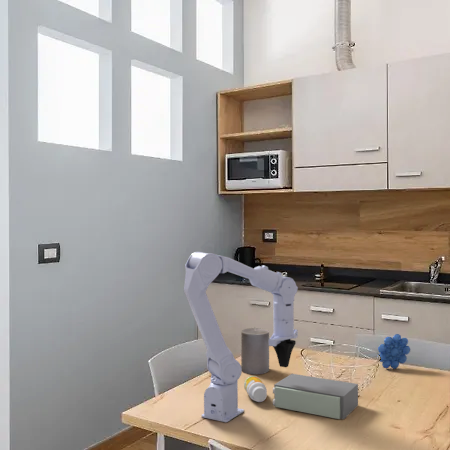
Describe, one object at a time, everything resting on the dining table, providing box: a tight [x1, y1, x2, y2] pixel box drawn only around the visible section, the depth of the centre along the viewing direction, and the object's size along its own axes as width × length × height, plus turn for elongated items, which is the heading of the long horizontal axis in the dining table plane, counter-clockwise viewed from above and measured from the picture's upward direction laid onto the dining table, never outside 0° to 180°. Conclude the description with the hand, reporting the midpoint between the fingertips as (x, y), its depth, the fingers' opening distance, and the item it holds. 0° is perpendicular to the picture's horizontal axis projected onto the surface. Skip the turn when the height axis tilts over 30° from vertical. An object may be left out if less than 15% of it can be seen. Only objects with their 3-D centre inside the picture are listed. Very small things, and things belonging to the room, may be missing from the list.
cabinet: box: [273, 373, 359, 420], centre depth 150 cm, size 12×20×6 cm, turn 58°
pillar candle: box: [240, 327, 270, 375], centre depth 184 cm, size 10×10×15 cm
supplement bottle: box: [243, 375, 268, 403], centre depth 156 cm, size 5×5×10 cm
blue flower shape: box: [377, 333, 411, 369], centre depth 186 cm, size 12×7×12 cm, turn 94°
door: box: [272, 387, 341, 420], centre depth 144 cm, size 19×1×5 cm, turn 59°
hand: (283, 366), depth 152 cm, fingers closed
